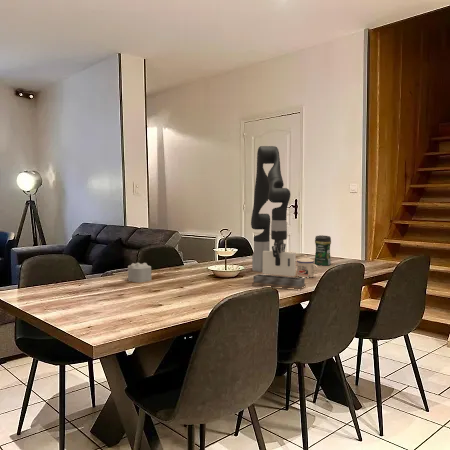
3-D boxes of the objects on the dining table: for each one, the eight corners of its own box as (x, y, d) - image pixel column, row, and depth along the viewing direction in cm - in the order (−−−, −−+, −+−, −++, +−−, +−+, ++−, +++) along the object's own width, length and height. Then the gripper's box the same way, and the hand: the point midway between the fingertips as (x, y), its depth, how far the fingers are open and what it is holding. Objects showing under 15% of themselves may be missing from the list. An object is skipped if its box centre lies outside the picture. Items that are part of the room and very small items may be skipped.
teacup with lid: (293, 277, 241) (293, 255, 241) (302, 274, 248) (302, 253, 247) (313, 279, 234) (313, 257, 233) (321, 277, 240) (322, 255, 240)
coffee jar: (312, 264, 281) (312, 235, 280) (319, 263, 287) (319, 234, 285) (326, 266, 274) (326, 236, 273) (332, 265, 280) (333, 235, 279)
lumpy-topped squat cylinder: (137, 283, 227) (136, 266, 227) (123, 279, 237) (123, 263, 236) (154, 280, 235) (153, 263, 234) (140, 276, 244) (139, 261, 243)
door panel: (262, 273, 219) (262, 251, 218) (264, 272, 222) (264, 250, 221) (293, 276, 212) (293, 253, 211) (295, 275, 215) (295, 252, 214)
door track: (252, 285, 219) (252, 276, 219) (259, 282, 227) (259, 273, 227) (299, 290, 208) (299, 281, 208) (305, 286, 216) (305, 277, 216)
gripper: (276, 228, 224) (276, 262, 225) (266, 230, 211) (266, 266, 213) (291, 228, 220) (290, 263, 222) (281, 231, 208) (281, 267, 209)
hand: (278, 264), depth 217 cm, fingers closed on door panel, 2 cm apart
